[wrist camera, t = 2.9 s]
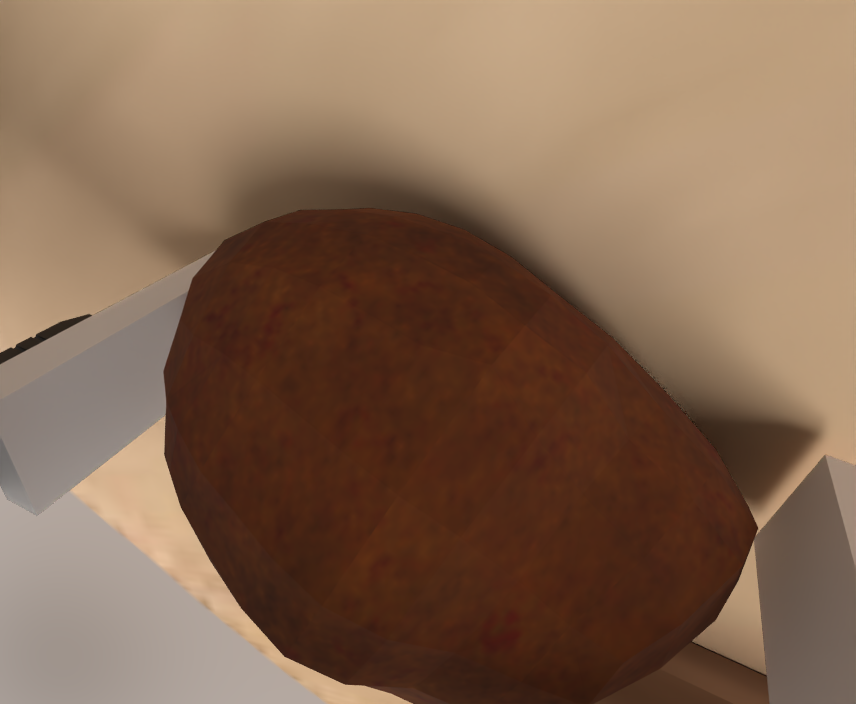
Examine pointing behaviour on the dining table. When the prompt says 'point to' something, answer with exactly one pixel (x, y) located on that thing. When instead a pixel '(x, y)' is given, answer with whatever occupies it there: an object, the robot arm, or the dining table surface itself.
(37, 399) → the robot arm
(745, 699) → the holder
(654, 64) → the dining table surface
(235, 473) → the potato
